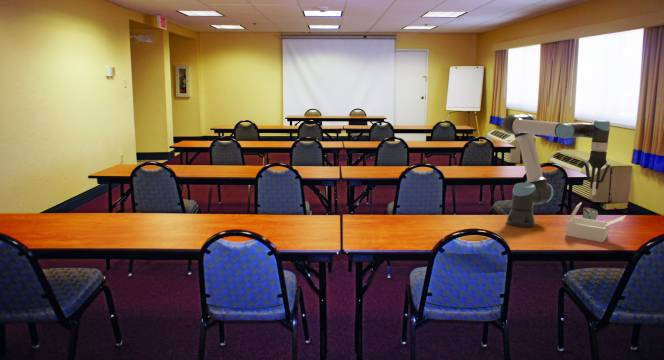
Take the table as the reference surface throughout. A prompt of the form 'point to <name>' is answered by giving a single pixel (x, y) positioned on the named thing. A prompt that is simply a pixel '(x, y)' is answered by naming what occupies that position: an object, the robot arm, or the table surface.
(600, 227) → the carton
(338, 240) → the table surface
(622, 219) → the flap
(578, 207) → the flap
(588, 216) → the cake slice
